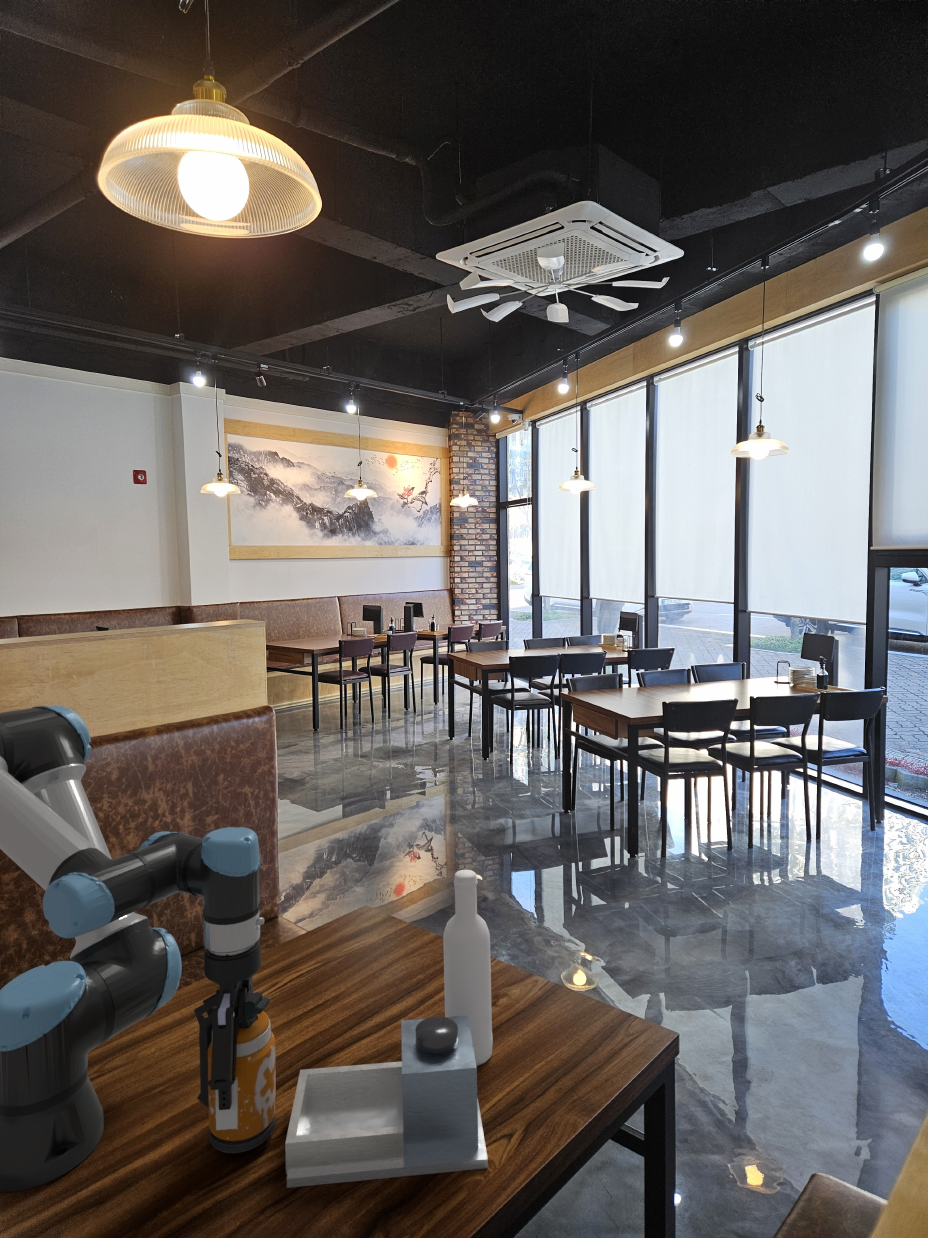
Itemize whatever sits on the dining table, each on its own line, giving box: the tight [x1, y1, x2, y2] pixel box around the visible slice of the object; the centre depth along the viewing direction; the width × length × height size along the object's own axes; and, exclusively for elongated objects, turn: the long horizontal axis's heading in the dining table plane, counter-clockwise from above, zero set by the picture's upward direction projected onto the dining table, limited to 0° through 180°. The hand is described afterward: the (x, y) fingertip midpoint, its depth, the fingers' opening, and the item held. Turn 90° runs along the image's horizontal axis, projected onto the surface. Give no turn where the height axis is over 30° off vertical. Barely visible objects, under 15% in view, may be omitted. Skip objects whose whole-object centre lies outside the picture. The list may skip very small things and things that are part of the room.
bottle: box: [442, 869, 494, 1067], centre depth 116 cm, size 8×8×30 cm
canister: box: [193, 991, 277, 1154], centre depth 98 cm, size 9×11×20 cm
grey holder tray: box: [284, 1015, 489, 1189], centre depth 99 cm, size 26×16×14 cm, turn 96°
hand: (235, 1101), depth 98 cm, fingers closed on canister, 9 cm apart
